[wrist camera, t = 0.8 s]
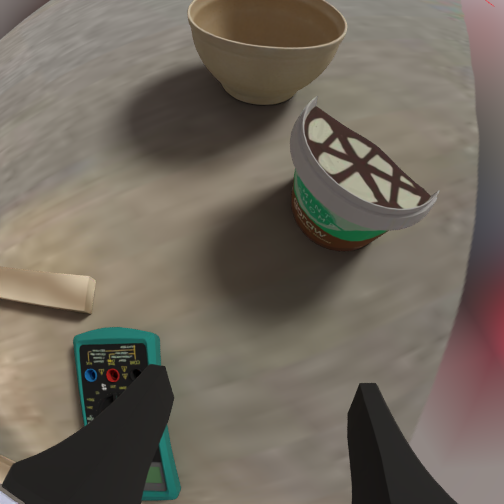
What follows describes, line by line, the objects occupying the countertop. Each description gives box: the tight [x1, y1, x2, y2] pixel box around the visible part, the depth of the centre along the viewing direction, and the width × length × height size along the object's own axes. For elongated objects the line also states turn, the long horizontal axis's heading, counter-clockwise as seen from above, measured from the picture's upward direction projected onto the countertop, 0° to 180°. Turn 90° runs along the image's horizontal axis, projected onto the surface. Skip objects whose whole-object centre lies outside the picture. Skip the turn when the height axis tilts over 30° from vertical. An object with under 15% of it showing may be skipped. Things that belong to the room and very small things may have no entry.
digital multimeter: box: [73, 327, 181, 500], centre depth 21 cm, size 7×15×3 cm, turn 7°
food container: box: [290, 96, 439, 251], centre depth 24 cm, size 12×6×10 cm, turn 48°
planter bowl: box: [187, 0, 347, 105], centre depth 30 cm, size 16×16×11 cm
